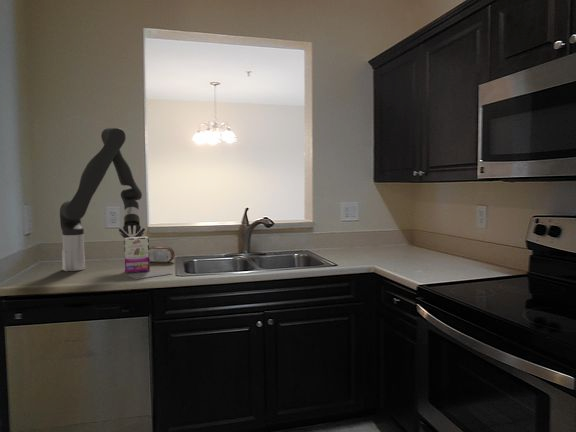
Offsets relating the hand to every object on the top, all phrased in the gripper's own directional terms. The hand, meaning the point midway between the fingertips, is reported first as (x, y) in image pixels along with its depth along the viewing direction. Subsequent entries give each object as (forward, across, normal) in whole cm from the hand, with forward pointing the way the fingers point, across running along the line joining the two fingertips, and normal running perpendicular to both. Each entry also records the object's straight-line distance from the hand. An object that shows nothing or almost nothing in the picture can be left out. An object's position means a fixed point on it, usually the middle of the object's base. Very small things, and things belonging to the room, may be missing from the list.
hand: (132, 244), depth 203 cm
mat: (+20, +7, -4) cm, 22 cm away
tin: (-1, +14, +19) cm, 23 cm away
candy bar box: (+13, +2, +4) cm, 14 cm away
